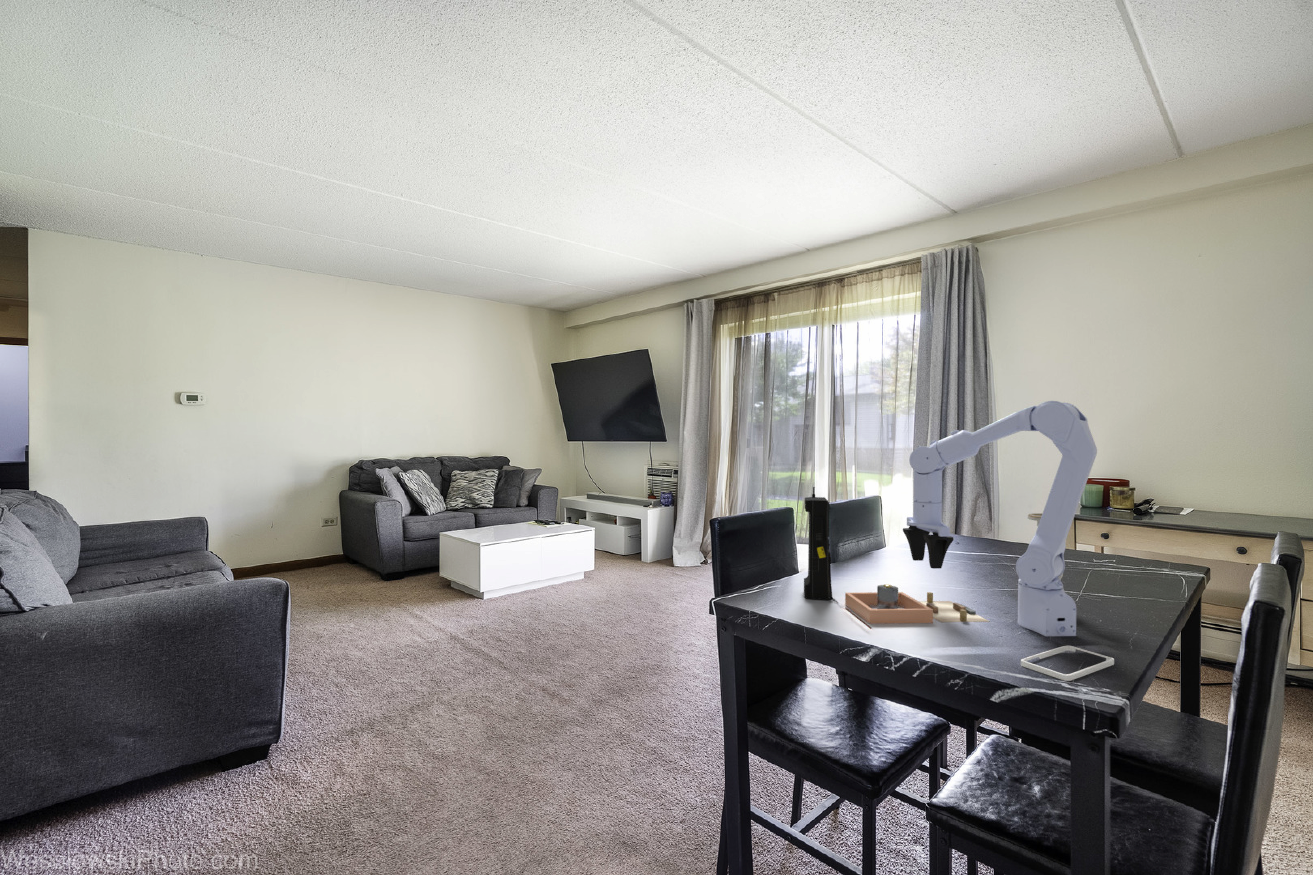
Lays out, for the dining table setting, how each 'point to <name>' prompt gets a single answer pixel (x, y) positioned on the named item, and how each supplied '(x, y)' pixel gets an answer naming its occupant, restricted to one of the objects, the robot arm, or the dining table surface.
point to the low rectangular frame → (911, 614)
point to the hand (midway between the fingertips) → (926, 564)
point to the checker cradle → (951, 611)
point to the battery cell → (887, 597)
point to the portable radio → (818, 550)
